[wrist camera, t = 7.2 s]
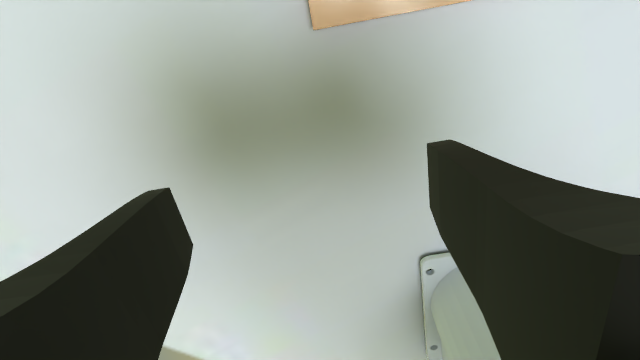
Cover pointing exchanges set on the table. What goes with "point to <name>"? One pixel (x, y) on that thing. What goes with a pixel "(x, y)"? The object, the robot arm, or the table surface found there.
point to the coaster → (364, 10)
